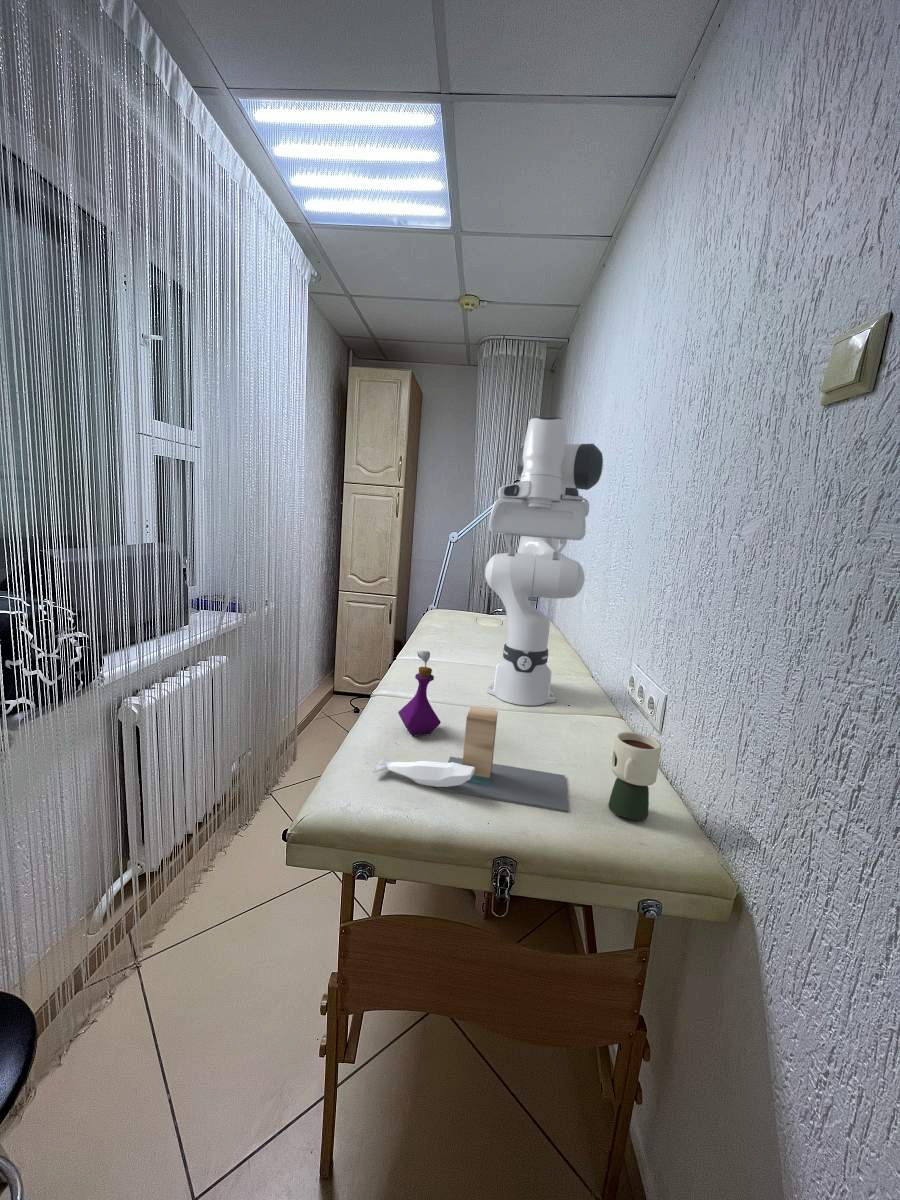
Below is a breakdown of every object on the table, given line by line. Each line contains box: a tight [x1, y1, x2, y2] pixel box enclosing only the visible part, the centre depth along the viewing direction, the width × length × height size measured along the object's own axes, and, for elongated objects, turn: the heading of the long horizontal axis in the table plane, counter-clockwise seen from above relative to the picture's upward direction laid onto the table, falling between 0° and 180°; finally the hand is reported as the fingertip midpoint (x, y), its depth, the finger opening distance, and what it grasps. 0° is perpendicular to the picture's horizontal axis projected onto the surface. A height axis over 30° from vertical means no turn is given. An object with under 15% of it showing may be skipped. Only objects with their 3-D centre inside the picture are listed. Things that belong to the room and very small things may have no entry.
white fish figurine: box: [372, 757, 476, 788], centre depth 87 cm, size 6×18×4 cm, turn 71°
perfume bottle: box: [397, 650, 441, 737], centre depth 108 cm, size 8×8×18 cm
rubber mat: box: [437, 756, 569, 813], centre depth 90 cm, size 12×22×1 cm, turn 80°
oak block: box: [462, 706, 499, 786], centre depth 90 cm, size 5×5×12 cm
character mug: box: [607, 731, 662, 821], centre depth 83 cm, size 11×7×13 cm, turn 147°
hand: (533, 558), depth 106 cm, fingers open, 8 cm apart
